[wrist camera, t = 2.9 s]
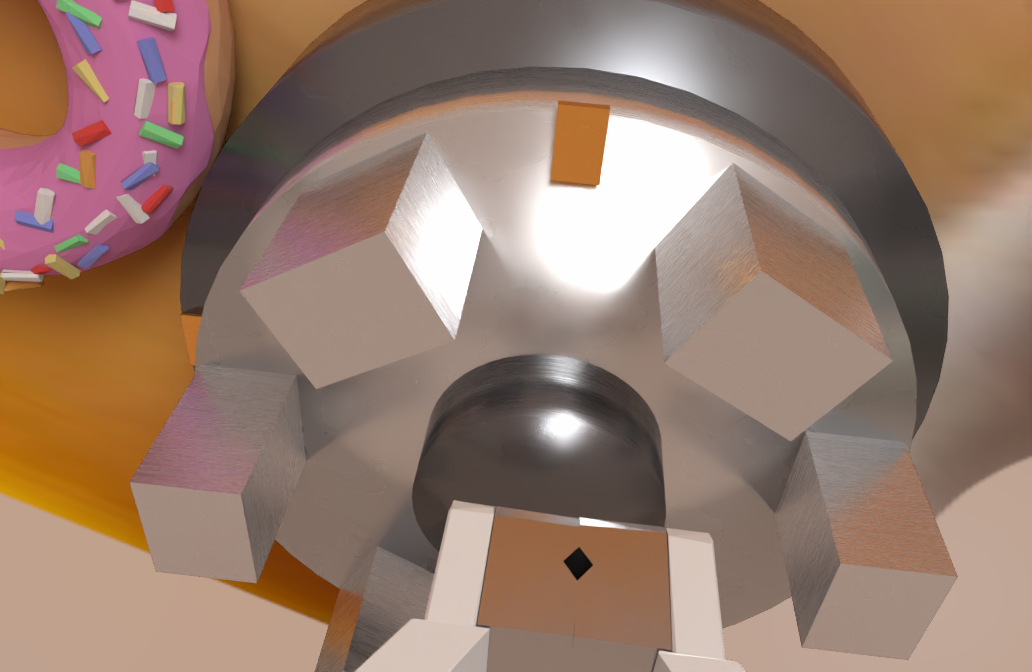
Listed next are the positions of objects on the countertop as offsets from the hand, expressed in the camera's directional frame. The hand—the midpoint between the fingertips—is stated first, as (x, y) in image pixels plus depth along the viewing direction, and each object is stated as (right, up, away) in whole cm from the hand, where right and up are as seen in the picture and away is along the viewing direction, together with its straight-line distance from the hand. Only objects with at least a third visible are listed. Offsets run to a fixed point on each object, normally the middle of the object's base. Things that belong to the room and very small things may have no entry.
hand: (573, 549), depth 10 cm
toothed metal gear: (0, +1, +14) cm, 14 cm away
